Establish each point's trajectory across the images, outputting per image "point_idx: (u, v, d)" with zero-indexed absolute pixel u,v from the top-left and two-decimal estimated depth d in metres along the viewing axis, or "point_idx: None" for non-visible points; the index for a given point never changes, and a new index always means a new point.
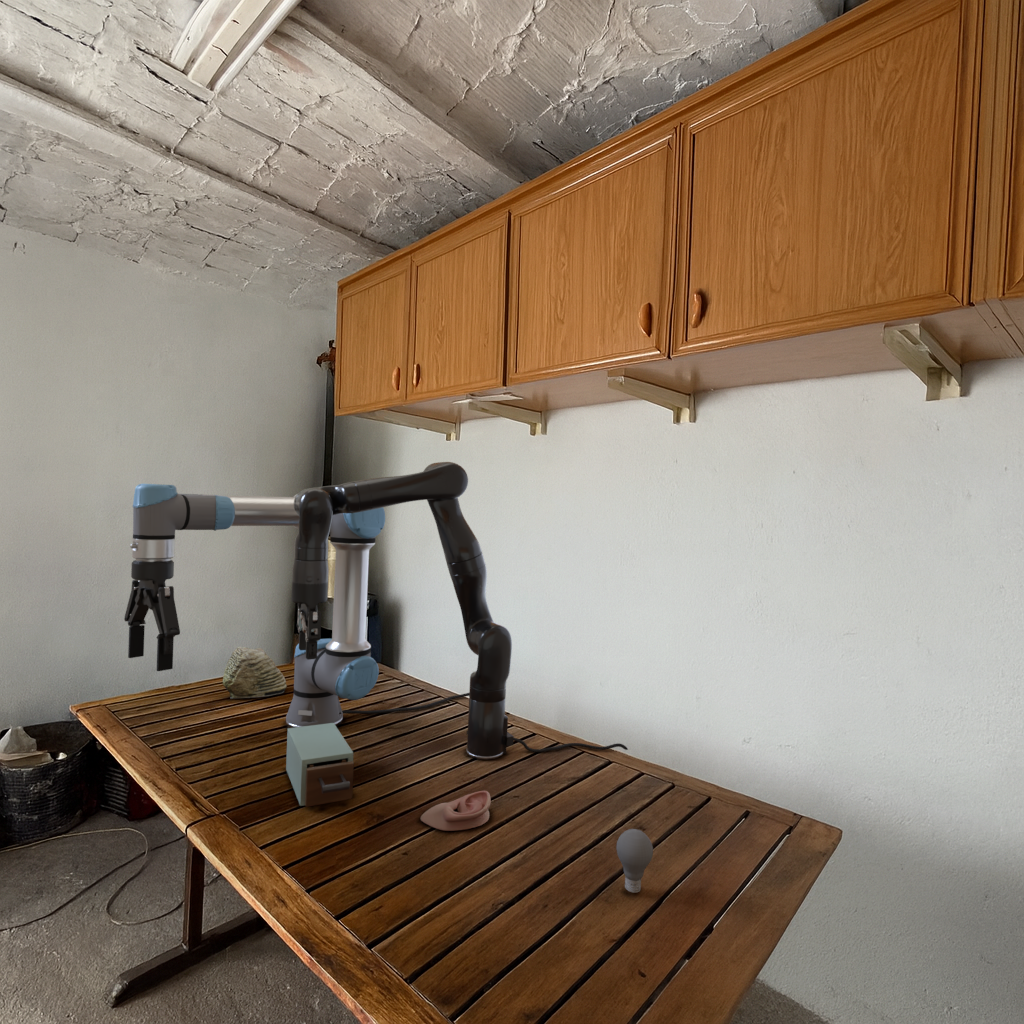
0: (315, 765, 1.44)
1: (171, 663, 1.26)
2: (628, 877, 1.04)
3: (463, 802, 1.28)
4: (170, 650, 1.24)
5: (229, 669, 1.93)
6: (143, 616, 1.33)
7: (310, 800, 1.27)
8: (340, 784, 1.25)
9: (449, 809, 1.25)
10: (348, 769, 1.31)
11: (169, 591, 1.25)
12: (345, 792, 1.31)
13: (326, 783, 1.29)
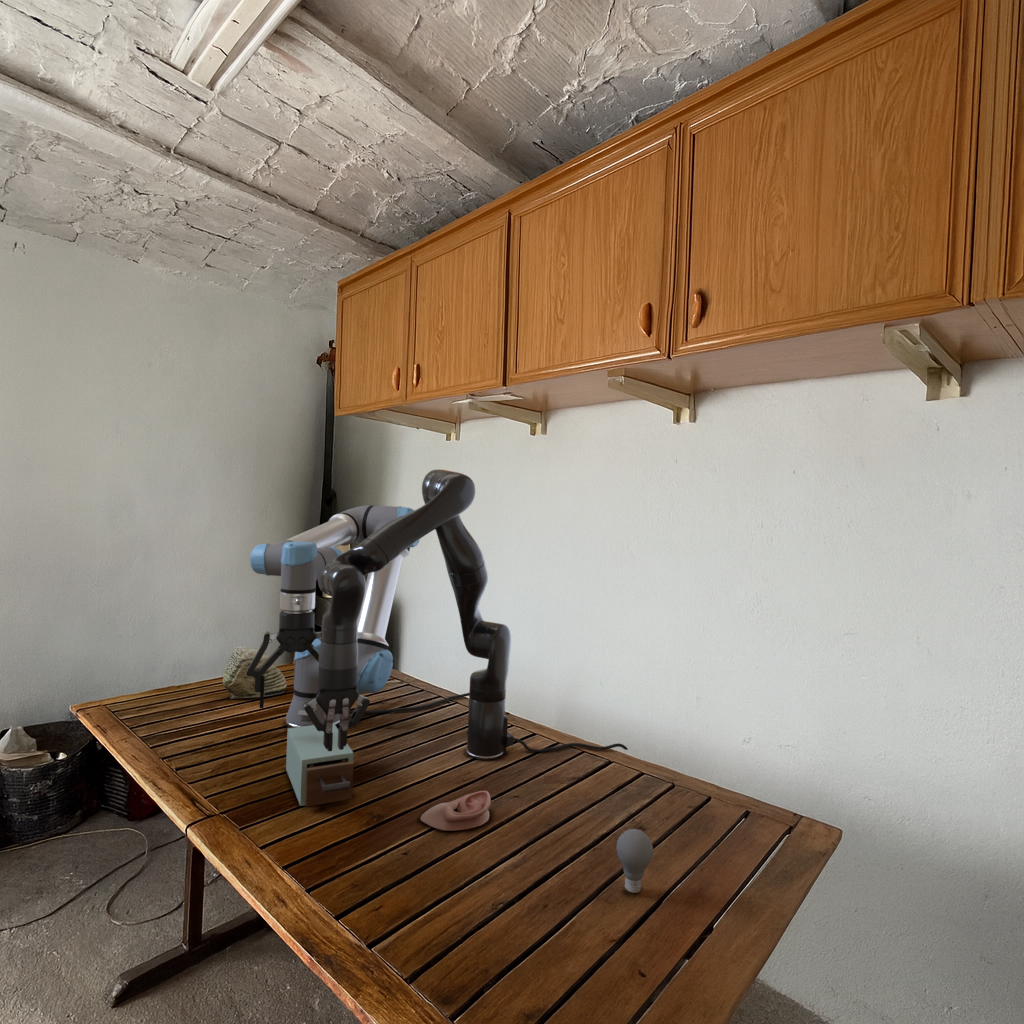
0: (315, 765, 1.44)
1: None
2: (628, 877, 1.04)
3: (463, 802, 1.28)
4: None
5: (229, 669, 1.93)
6: None
7: (310, 800, 1.27)
8: (340, 784, 1.25)
9: (449, 809, 1.25)
10: (348, 769, 1.31)
11: None
12: (345, 792, 1.31)
13: (326, 783, 1.29)
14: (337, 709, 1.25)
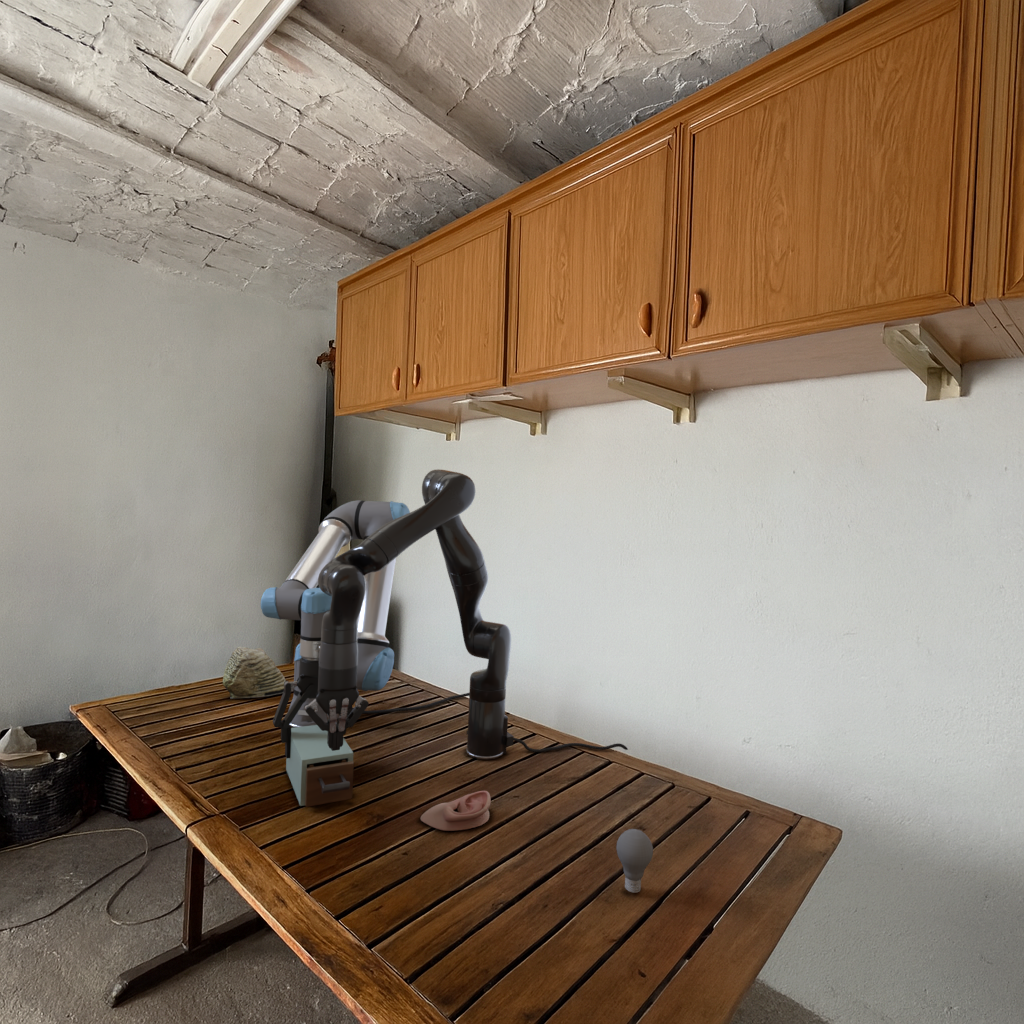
0: (315, 765, 1.44)
1: None
2: (628, 877, 1.04)
3: (463, 802, 1.28)
4: None
5: (229, 669, 1.93)
6: None
7: (310, 800, 1.27)
8: (340, 784, 1.25)
9: (449, 809, 1.25)
10: (348, 769, 1.31)
11: None
12: (345, 792, 1.31)
13: (326, 783, 1.29)
14: (337, 709, 1.25)
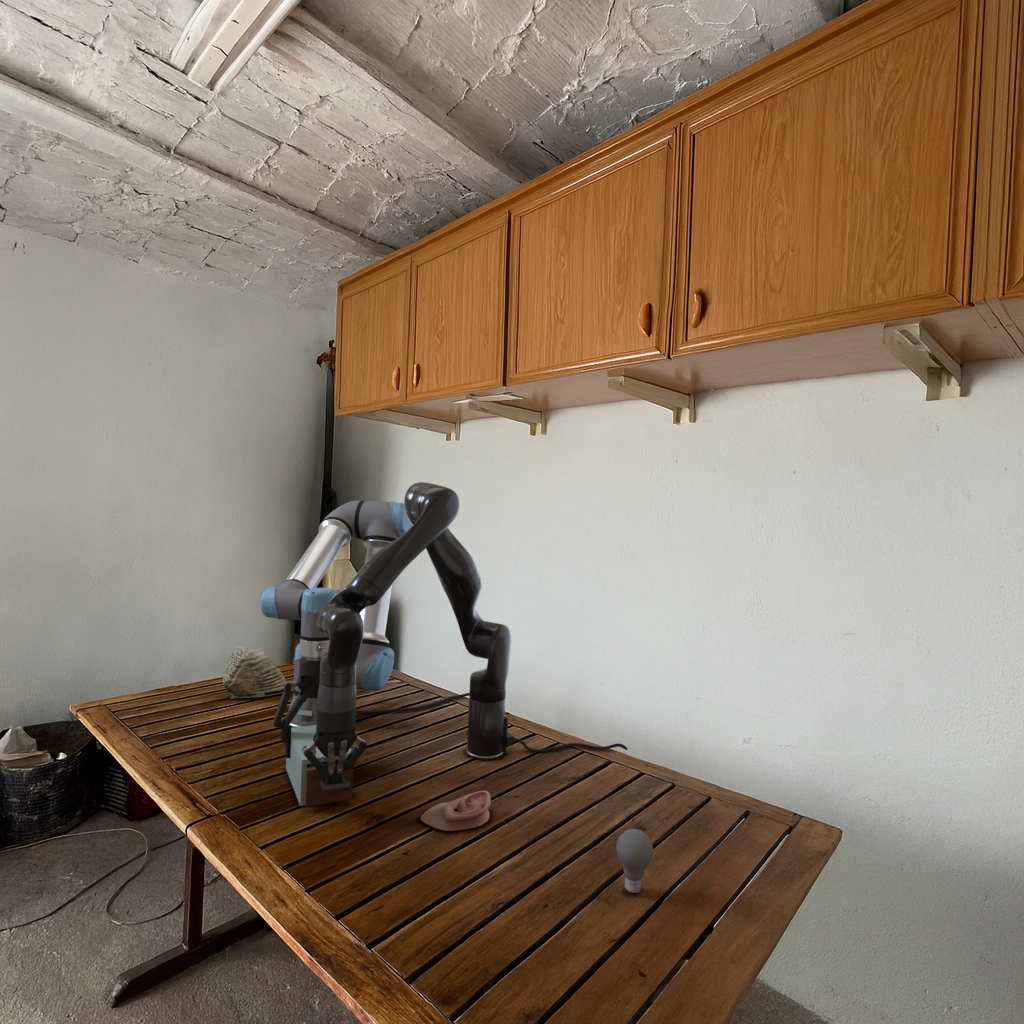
0: None
1: None
2: (628, 877, 1.04)
3: (463, 802, 1.28)
4: None
5: (229, 669, 1.93)
6: None
7: (309, 800, 1.27)
8: (340, 784, 1.25)
9: (449, 809, 1.25)
10: (348, 769, 1.31)
11: None
12: (345, 792, 1.31)
13: None
14: (335, 751, 1.25)
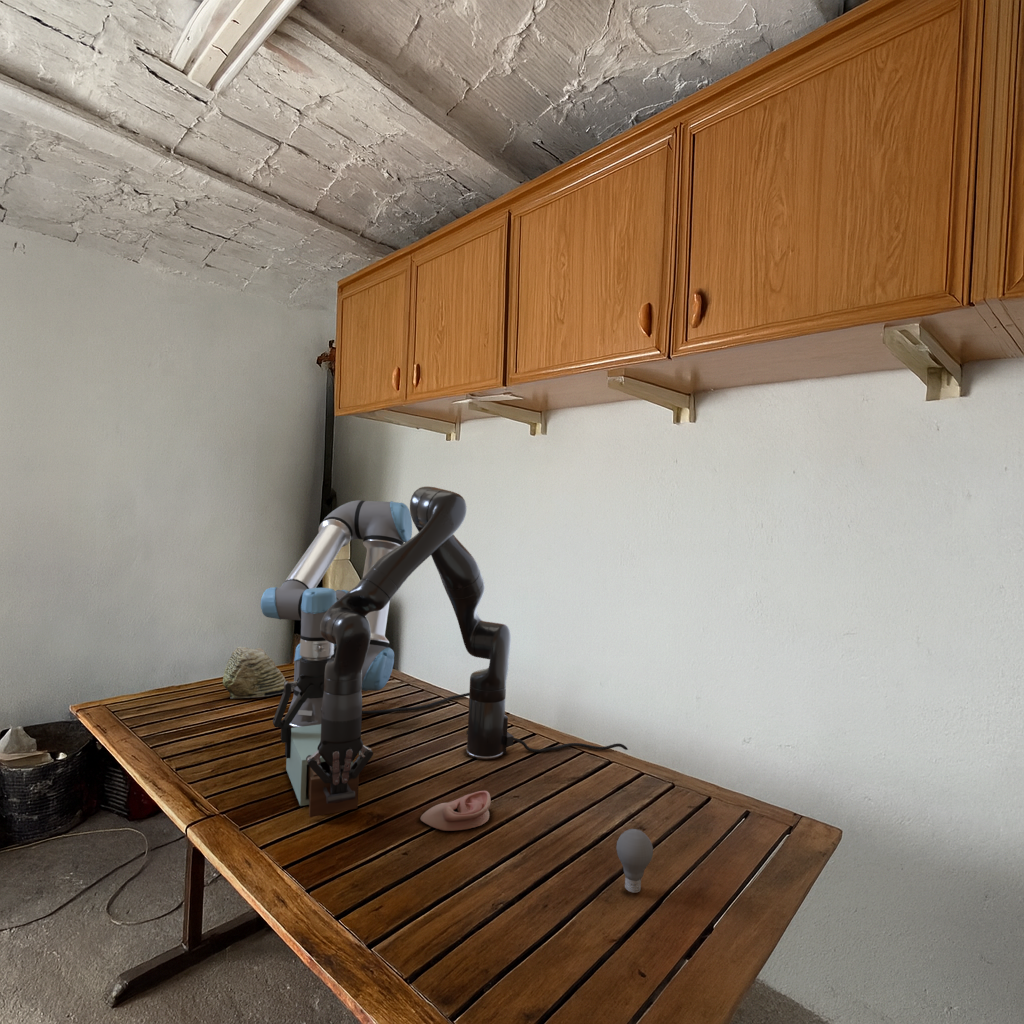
0: None
1: None
2: (628, 877, 1.04)
3: (463, 802, 1.28)
4: None
5: (229, 669, 1.93)
6: None
7: (314, 810, 1.23)
8: (346, 794, 1.21)
9: (449, 809, 1.25)
10: None
11: None
12: (350, 802, 1.27)
13: None
14: (340, 760, 1.21)
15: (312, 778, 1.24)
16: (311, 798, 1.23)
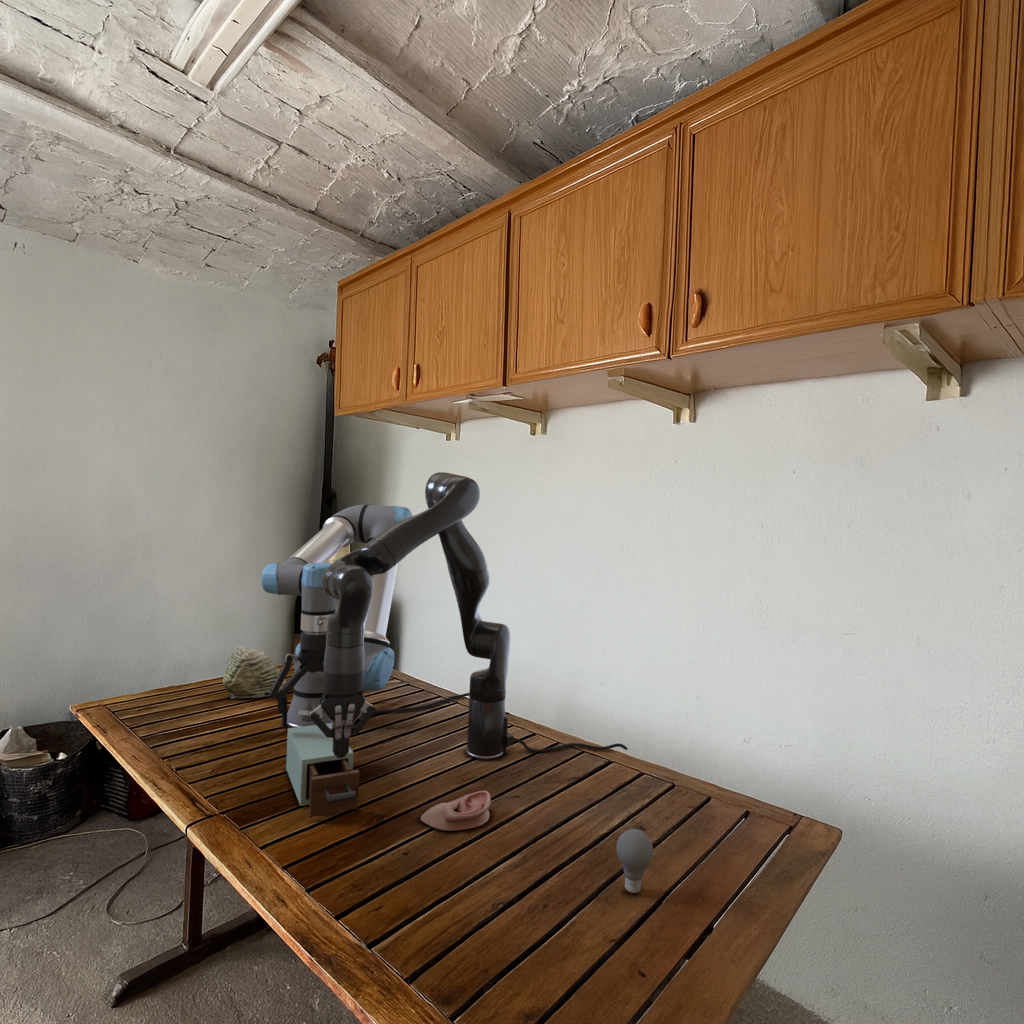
0: (319, 773, 1.40)
1: None
2: (628, 877, 1.04)
3: (463, 802, 1.28)
4: None
5: (229, 669, 1.93)
6: None
7: (314, 810, 1.23)
8: (346, 794, 1.21)
9: (449, 809, 1.25)
10: (353, 778, 1.27)
11: None
12: (350, 802, 1.27)
13: (331, 793, 1.25)
14: (343, 715, 1.21)
15: (312, 778, 1.23)
16: (311, 798, 1.23)
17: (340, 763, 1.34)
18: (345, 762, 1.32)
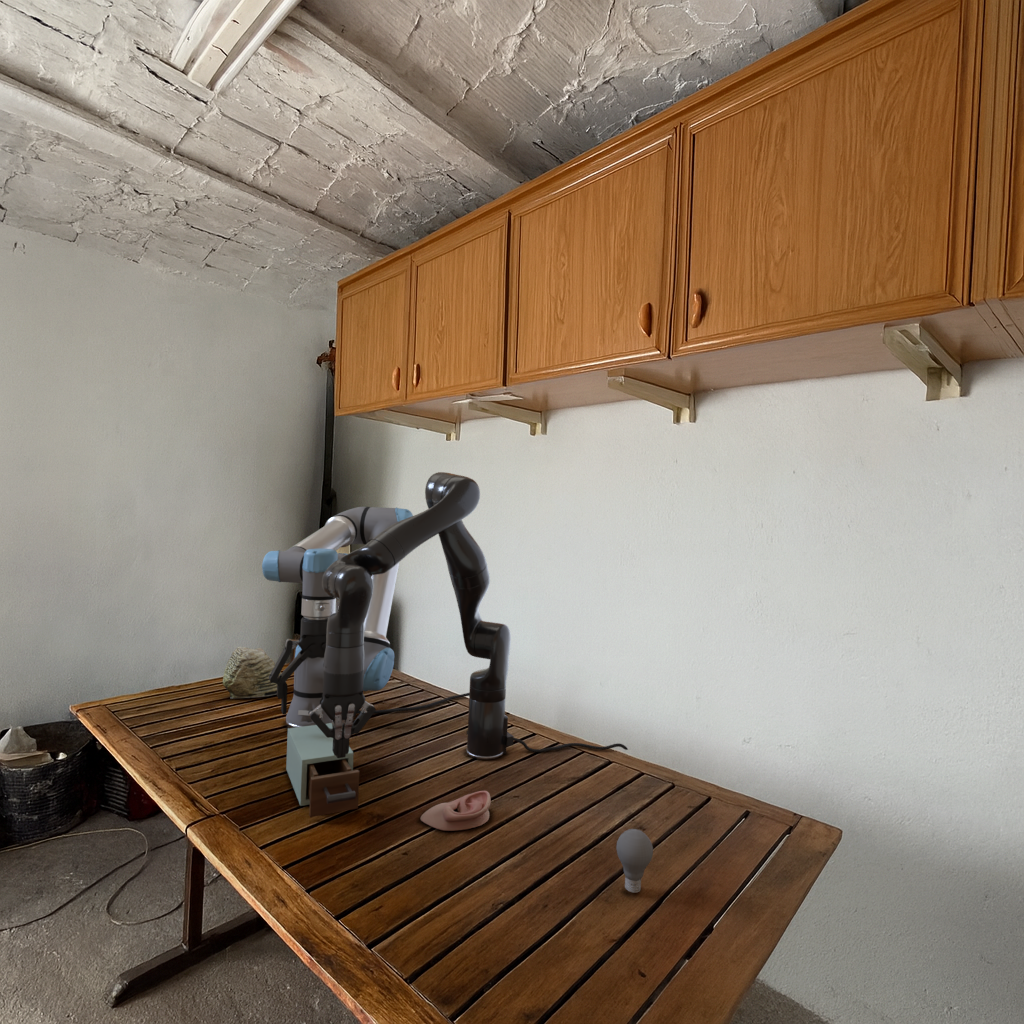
0: (319, 773, 1.40)
1: None
2: (628, 877, 1.04)
3: (463, 802, 1.28)
4: None
5: (229, 669, 1.93)
6: None
7: (314, 810, 1.23)
8: (346, 794, 1.21)
9: (449, 809, 1.25)
10: (353, 778, 1.27)
11: None
12: (350, 802, 1.27)
13: (331, 793, 1.25)
14: (343, 715, 1.21)
15: (312, 778, 1.23)
16: (311, 798, 1.23)
17: (340, 763, 1.34)
18: (345, 762, 1.32)
